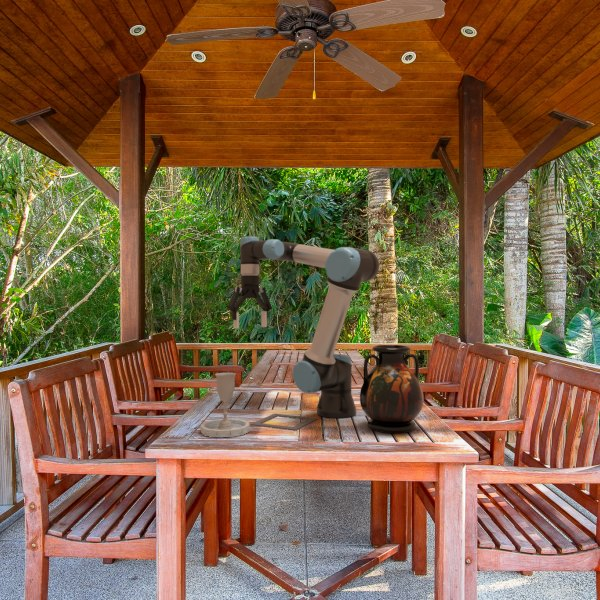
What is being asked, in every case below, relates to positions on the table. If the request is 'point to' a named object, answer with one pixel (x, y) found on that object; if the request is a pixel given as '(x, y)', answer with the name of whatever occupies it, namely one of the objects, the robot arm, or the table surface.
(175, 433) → the table surface
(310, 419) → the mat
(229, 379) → the chalice
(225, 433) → the plate
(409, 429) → the amphora vase
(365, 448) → the table surface
